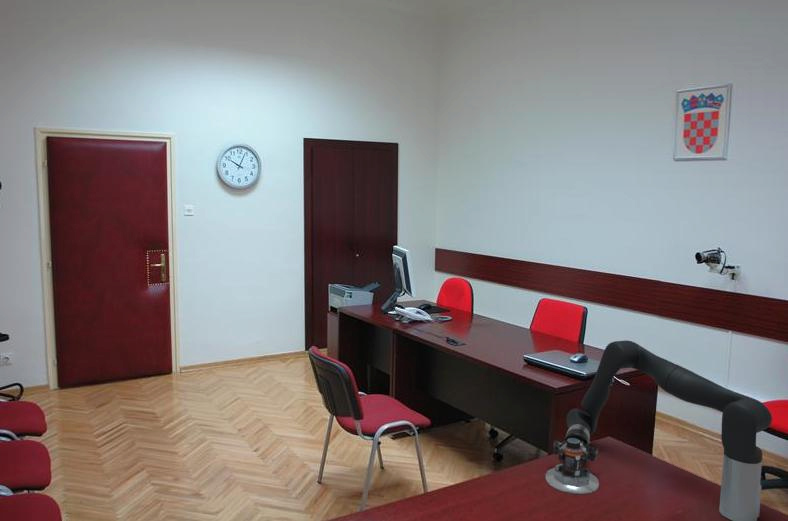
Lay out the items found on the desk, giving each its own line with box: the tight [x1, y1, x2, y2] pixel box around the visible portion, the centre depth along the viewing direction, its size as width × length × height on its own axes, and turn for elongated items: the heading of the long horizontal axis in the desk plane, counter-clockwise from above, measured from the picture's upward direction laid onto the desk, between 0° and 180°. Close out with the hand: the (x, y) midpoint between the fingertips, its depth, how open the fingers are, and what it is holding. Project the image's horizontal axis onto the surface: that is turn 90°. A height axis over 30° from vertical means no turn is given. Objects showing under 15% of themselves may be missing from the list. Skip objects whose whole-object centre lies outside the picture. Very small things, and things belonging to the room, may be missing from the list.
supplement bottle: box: [562, 438, 584, 478], centre depth 181 cm, size 6×6×11 cm
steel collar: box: [545, 463, 600, 495], centre depth 182 cm, size 16×16×4 cm
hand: (572, 459), depth 179 cm, fingers closed on supplement bottle, 6 cm apart
